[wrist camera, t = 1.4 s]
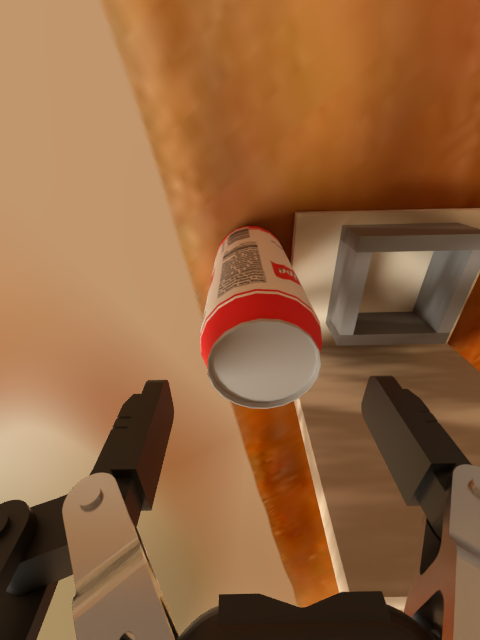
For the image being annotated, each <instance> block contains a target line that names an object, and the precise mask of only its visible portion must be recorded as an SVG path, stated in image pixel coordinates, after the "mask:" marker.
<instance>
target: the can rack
mask: <svg viewBox="0 0 480 640" xmlns="http://www.w3.org/2000/svg"><path fill="white" fill-rule="evenodd" d="M291 266H292V268H293V270H294V271H295V273H296V275H297V277H298V279H299V281H300V283H301V285H302V287H303V289H304V291H305V293H306V295H307V297H308V299H309V301H310V303H311V305H312V307H313V309H314V311H315V313H316V315H317V317H318V319H319V321H320V326H321V333H322V341H323V344H322V348H321V352H320V358H321V368H320V372H319V376H318V378H317V380H316V381H315V383H314V384H313V386H312V387H311V388H310V390H309V391H307V392H306V393H305V394H303V395H302V396H301V397H300V398H298V399H297V400H294V403H295V407H296V411H297V415H298V420H299V424H300V428H301V432H302V437H303V441H304V445H305V449H306V454H307V458H308V462H309V466H310V471H311V475H312V479H313V483H314V487H315V492H316V496H317V500H318V504H319V509H320V513H321V517H322V521H323V526H324V530H325V534H326V538H327V543H328V547H329V551H330V555H331V560H332V564H333V568H334V572H335V577H336V581H337V585H338V589H339V593H340V592H357V591H382V593H383V596H384V599H385V602H386V604H387V605H390V606H392V607H394V608H396V609H405V604H406V600H407V596H408V593H409V590H410V588H411V586H412V582H413V579H414V574H415V567H416V560H417V553H418V546H419V539H420V532H421V525H422V519H423V516H424V514H425V513H424V512H423V510H422V508H421V506H407V505H406V503H405V501H404V499H403V497H402V495H401V493H400V491H399V489H398V487H397V485H396V483H395V481H394V479H393V477H392V475H391V473H390V471H389V469H388V467H387V465H386V463H385V461H384V459H383V457H382V455H381V453H380V451H379V449H378V447H377V445H376V443H375V441H374V439H373V437H372V435H371V433H370V431H369V428H368V426H367V424H366V422H365V420H364V418H363V415H362V411H361V403H362V399H363V396H364V393H365V389H366V386H367V383H368V379H369V377H370V376H386V375H391V376H393V377H394V378H395V379H396V380H397V382H398V383H399V384H400V386H401V387H402V389H409V390H410V391H411V392H412V393H414V394H415V395H416V396H418V397H419V398H420V399H421V400H422V401H423V402H424V404H425V405H426V406H427V408H428V409H429V410H430V413H432V414H433V415H434V417H435V418H436V419H437V420H438V423H440V424H441V426H442V427H443V428H444V429H445V431H446V432H447V433H448V435H449V436H450V437H451V438H452V440H453V441H454V442H455V444H456V445H457V446H458V447H459V449H460V450H461V451H462V453H463V454H464V455H465V456H466V458H467V459H468V460H469V462H470V463H471V464H472V465H474V466H477V467H480V372H479V371H478V370H477V369H476V368H475V367H474V366H472V365H471V364H470V363H469V362H468V361H467V360H466V359H464V358H463V357H462V356H461V355H460V354H459V353H458V352H456V351H455V350H454V349H453V348H452V347H451V346H450V345H448V344H447V343H448V341H449V339H450V337H451V334H452V332H453V330H454V328H455V326H456V324H457V322H458V319H459V317H460V315H461V313H462V311H463V309H464V306H465V304H466V302H467V300H468V298H469V296H470V294H471V291H472V289H473V287H474V285H475V283H476V281H477V279H478V276H479V274H480V208H449V209H403V210H357V211H312V212H295V218H294V230H293V243H292V255H291Z"/></svg>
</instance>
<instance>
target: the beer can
mask: <svg viewBox="0 0 480 640" xmlns="http://www.w3.org/2000/svg"><path fill="white" fill-rule="evenodd" d="M322 344H323V341H322V333H321V326H320V321H319V319H318V317H317V315H316V313H315V311H314V309H313V307H312V305H311V303H310V301H309V299H308V297H307V295H306V293H305V291H304V289H303V287H302V285H301V283H300V281H299V279H298V277H297V275H296V273H295V271H294V270H293V268H292V266H291V264H290V262H289V260H288V258H287V256H286V254H285V252H284V250H283V248H282V246H281V244H280V242H279V241H278V239H277V238H276V237H275V236H274V235H273V234H272V233H271V232H269V231H268V230H266V229H263V228H261V227H258V226H245V227H241V228H237V229H235V230H234V231H232V232H231V233H229V234H228V235H227V236H226V237H225V238H224V239H223V241H222V242H221V243H220V245H219V248H218V251H217V254H216V259H215V264H214V268H213V273H212V278H211V283H210V288H209V292H208V297H207V302H206V307H205V312H204V317H203V321H202V326H201V331H200V345H201V346H200V347H201V355H202V357H203V359H204V362H205V364H206V366H207V369H208V376H209V379H210V381H211V383H212V385H213V387H214V388H215V389H216V390H217V391H218V392H219V393H220V394H221V396H223V397H224V398H226V399H227V400H229V401H231V402H233V403H235V404H237V405H241V406H245V407H249V408H266V409H267V408H273V407H278V406H283V405H285V404H288V403H290V402H292V401H294V400H297V399H298V398H300V397H301V396H302V395H303V394H305V393H306V392H307V391H309V390H310V388H311V387H312V386H313V384H314V383H315V381H316V380H317V378H318V376H319V372H320V368H321V358H320V352H321V348H322Z"/></svg>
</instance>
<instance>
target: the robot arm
mask: <svg viewBox="0 0 480 640" xmlns="http://www.w3.org/2000/svg"><path fill="white" fill-rule="evenodd" d="M361 411H362V415H363V418H364V420H365V422H366V424H367V426H368V428H369V431H370V433H371V435H372V437H373V439H374V441H375V443H376V445H377V447H378V449H379V451H380V453H381V455H382V457H383V459H384V461H385V463H386V465H387V467H388V469H389V471H390V473H391V475H392V477H393V479H394V481H395V483H396V485H397V487H398V489H399V491H400V493H401V495H402V497H403V499H404V501H405V503H406V505H407V506H421V508H422V510H423V512H424V513H425V514H424V516H423V519H422V525H421V532H420V539H419V546H418V553H417V560H416V567H415V574H414V579H413V582H412V586H411V588H410V590H409V593H408V596H407V600H406V604H405V609H404V612H402V611H400V610H398V609H396V608H394V607H392V606H390V605H387V604H386V602H385V599H384V596H383V593H382V591H357V592H340V593H338V594H336V595H333V596H331V597H329V598H326V599H324V600H322V601H319V602H317V603H315V604H312V605H310V606H308V607H305V608H300V607H296V606H294V605H291V604H288V603H285V602H282V601H279V600H276V599H273V598H270V597H267V596H264V595H261V594H223V595H219V606H217V607H214V608H212V609H210V610H208V611H207V612H205V613H204V614H202V615H200V616H199V617H198V618H197V619H196V620H194V621H193V622H192V623H191V624H190V625H189V626H188V627H187V628H186V629H185V630H184V632H183V633H182V634H181V635H180V636H179V634H178V631H177V629H176V626H175V623H174V621H173V618H172V615H171V613H170V610H169V608H168V605H167V603H166V600H165V598H164V595H163V593H162V591H161V588H160V586H159V583H158V581H157V578H156V575H155V573H154V570H153V568H152V565H151V563H150V560H149V557H148V555H147V552H146V549H145V547H144V544H143V541H142V539H141V536H140V534H139V531H138V528H137V523H138V519H139V516H140V512H141V511H144V510H146V511H147V510H151V509H152V505H153V501H154V497H155V493H156V489H157V485H158V481H159V477H160V473H161V469H162V464H163V460H164V456H165V452H166V448H167V444H168V440H169V436H170V432H171V428H172V424H173V418H174V407H173V402H172V397H171V392H170V387H169V383H168V380H148V381H147V382H146V384H145V386H144V389H143V391H142V394H133V395H132V396H131V397H130V398H129V399H128V400H127V401H126V402H125V403H124V404H123V406H122V408H121V410H120V412H119V415H118V418H117V419H116V421H115V423H114V425H113V429H112V430H111V432H110V434H109V436H108V438H107V440H106V443H105V445H104V447H103V449H102V451H101V453H100V455H99V457H98V460H97V462H96V464H95V466H94V469H93V470H92V472H91V473H90V475H89V476H88V477H86V478H84V479H82V480H81V481H80V482H78V483H77V484H76V485H75V486H74V487H73V488H72V490H71V491H70V492H69V493H68V494H67V495H65V496H62V497H60V498H57V499H54V500H51V501H48V502H45V503H42V504H39V505H36V506H33V507H31V508H30V507H29V506H28V505H27V504H26V503H25V502H24V501H21V500H11V501H7V502H4V503H2V504H0V640H36V639H37V636H38V634H39V631H40V628H41V626H42V623H43V621H44V618H45V615H46V613H47V610H48V607H49V605H50V602H51V599H52V597H53V594H54V592H55V589H56V586H57V583H58V581H59V580H61V579H63V578H66V577H68V576H70V575H72V574H73V575H74V581H75V587H76V595H75V597H74V598H73V602H72V611H73V620H74V626H75V632H76V638H77V640H480V467H477V466H474V465H472V464H471V463H470V462H469V460H468V459H467V458H466V456H465V455H464V454H463V453H462V451H461V450H460V449H459V447H458V446H457V445H456V444H455V442H454V441H453V440H452V438H451V437H450V436H449V435H448V433H447V432H446V431H445V429H444V428H443V427H442V426H441V424H440V423H438V420H437V419H436V418H435V417H434V415H433V414H432V413H430V410H429V409H428V408H427V406H426V405H425V404H424V402H423V401H422V400H421V399H420V398H419V397H418V396H416V395H415V394H414V393H412V392H411V391H410V390H409V389H402V387H401V386H400V384H399V383H398V382H397V380H396V379H395V378H394V377H393V376H391V375H386V376H370V377H369V379H368V383H367V386H366V389H365V393H364V396H363V399H362V403H361Z"/></svg>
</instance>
